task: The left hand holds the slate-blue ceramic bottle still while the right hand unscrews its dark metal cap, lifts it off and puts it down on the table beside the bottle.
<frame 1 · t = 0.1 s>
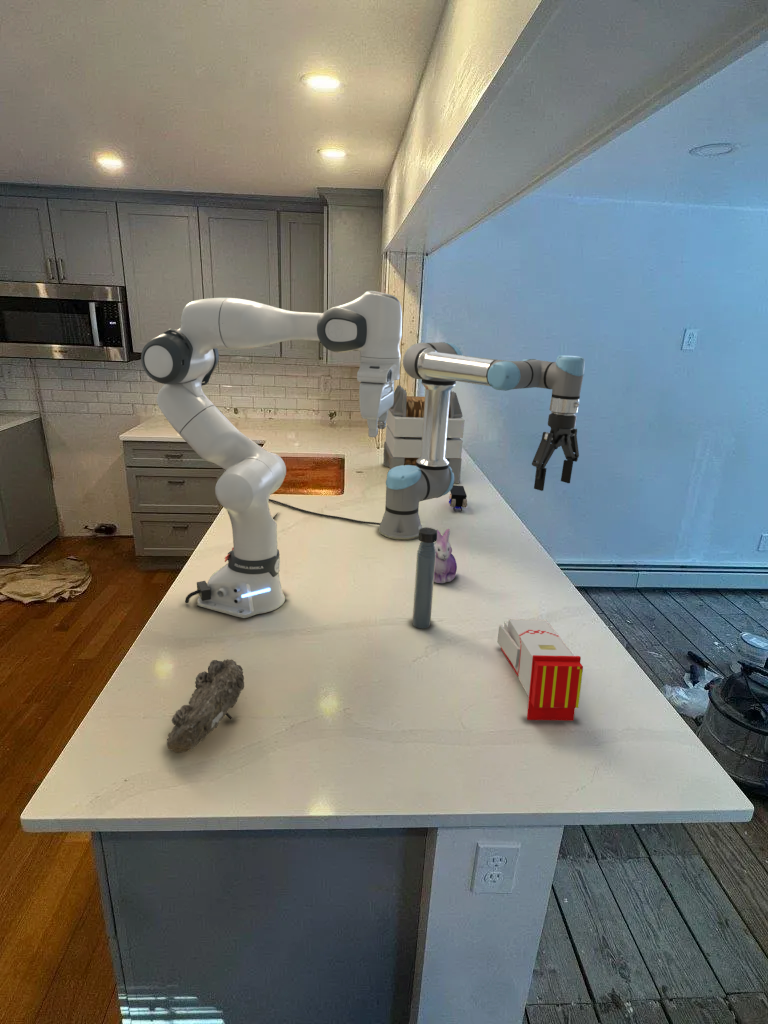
left hand: (377, 432, 129), 48 cm above the counter, tool pointing down, fingers open, 8 cm apart
right hand: (552, 485, 166), 28 cm above the counter, tool pointing down, fingers open, 13 cm apart
figurine character: (456, 507, 229), on the counter
bottle: (421, 623, 143), on the counter
figurine: (442, 577, 169), on the counter
cap: (428, 532, 135), point 25 cm above the counter, screwed on, not yet turned
feather: (276, 516, 211), on the counter
toy: (530, 678, 124), on the counter
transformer: (419, 473, 275), on the counter
fossil: (212, 717, 108), on the counter
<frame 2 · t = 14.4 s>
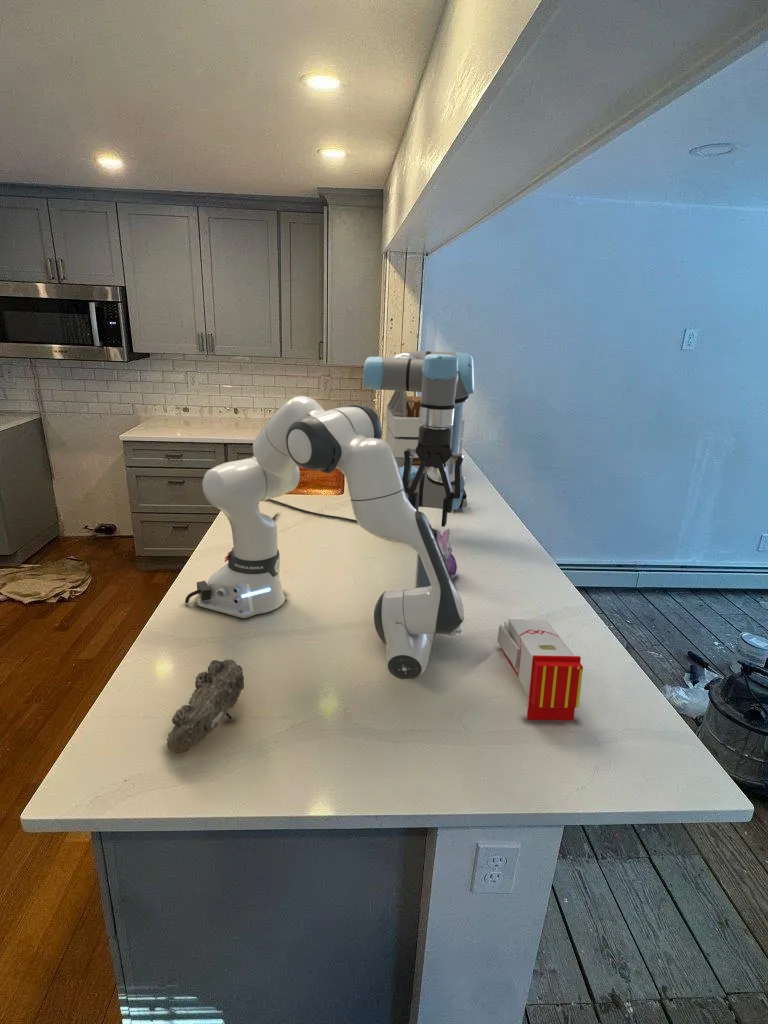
left hand: (423, 600, 142), 6 cm above the counter, tool horizontal, fingers closed on bottle, 4 cm apart
right hand: (428, 522, 134), 27 cm above the counter, tool pointing down, fingers open, 7 cm apart
bottle: (421, 623, 143), on the counter, touching left hand
everything else where it was.
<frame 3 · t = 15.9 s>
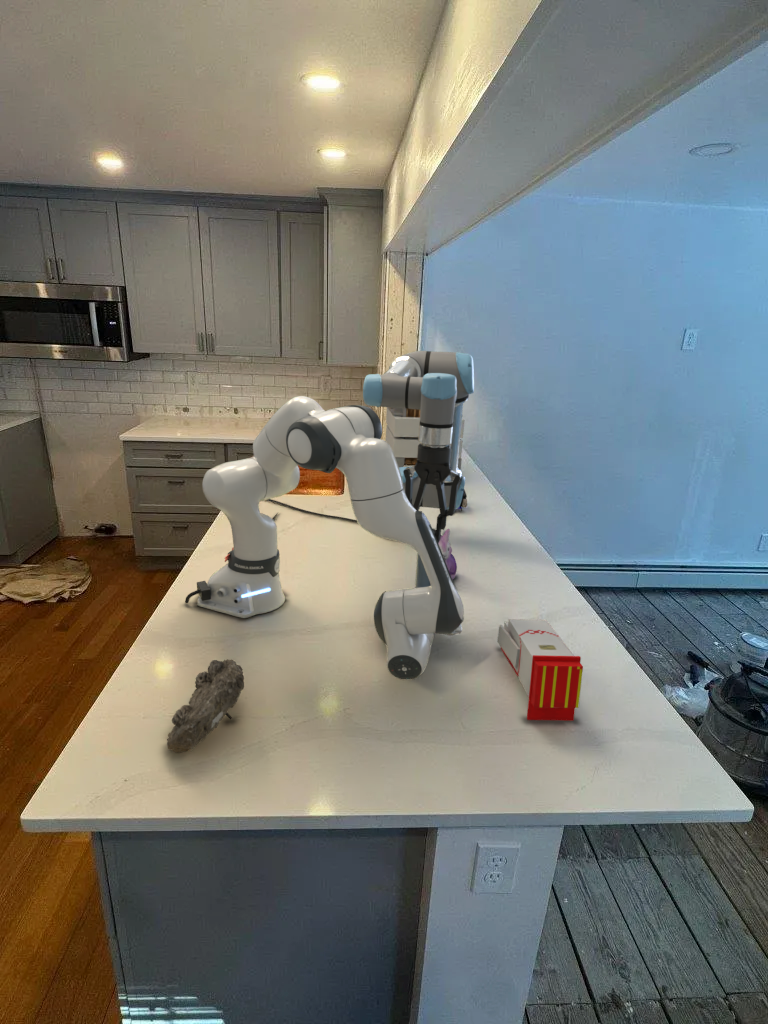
left hand: (423, 600, 142), 6 cm above the counter, tool horizontal, fingers closed on bottle, 4 cm apart
right hand: (427, 539, 136), 23 cm above the counter, tool pointing down, fingers closed on cap, 4 cm apart
bottle: (421, 623, 143), on the counter, touching left hand
cap: (428, 532, 135), point 25 cm above the counter, screwed on, not yet turned, touching right hand
everything else where it was.
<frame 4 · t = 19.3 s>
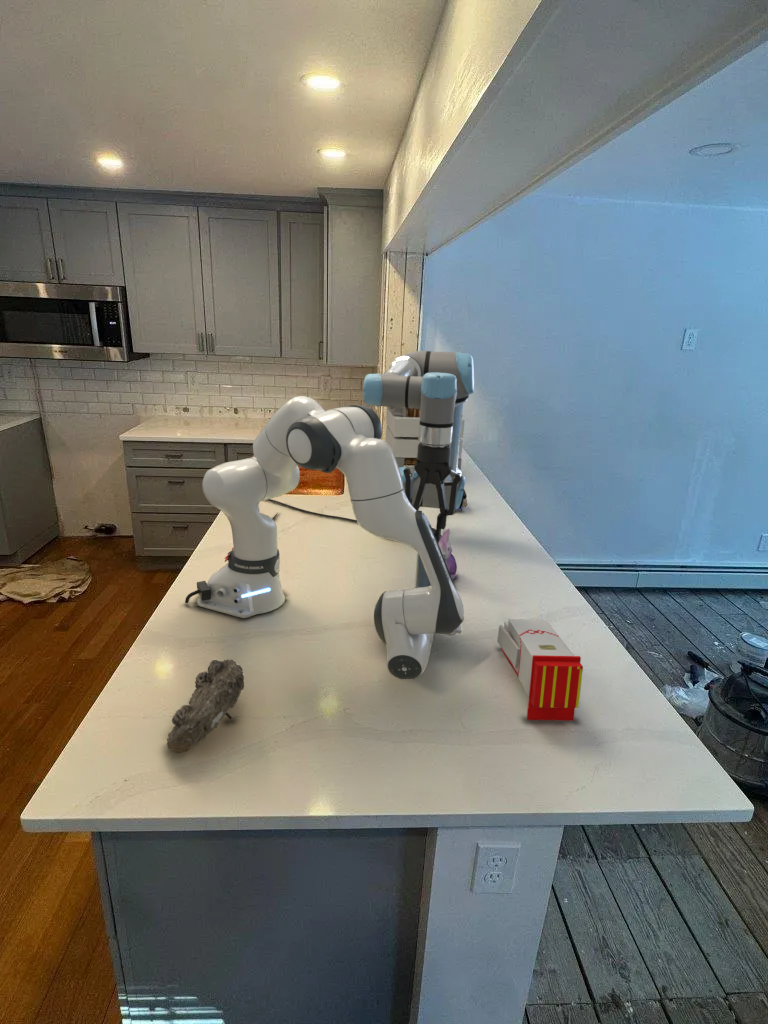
left hand: (423, 600, 142), 6 cm above the counter, tool horizontal, fingers closed on bottle, 4 cm apart
right hand: (427, 539, 136), 23 cm above the counter, tool pointing down, fingers closed on cap, 4 cm apart
bottle: (421, 623, 143), on the counter, touching left hand
cap: (428, 531, 135), point 25 cm above the counter, turned 112° so far, risen 0.1 cm, still on its thread, touching right hand
everything else where it was.
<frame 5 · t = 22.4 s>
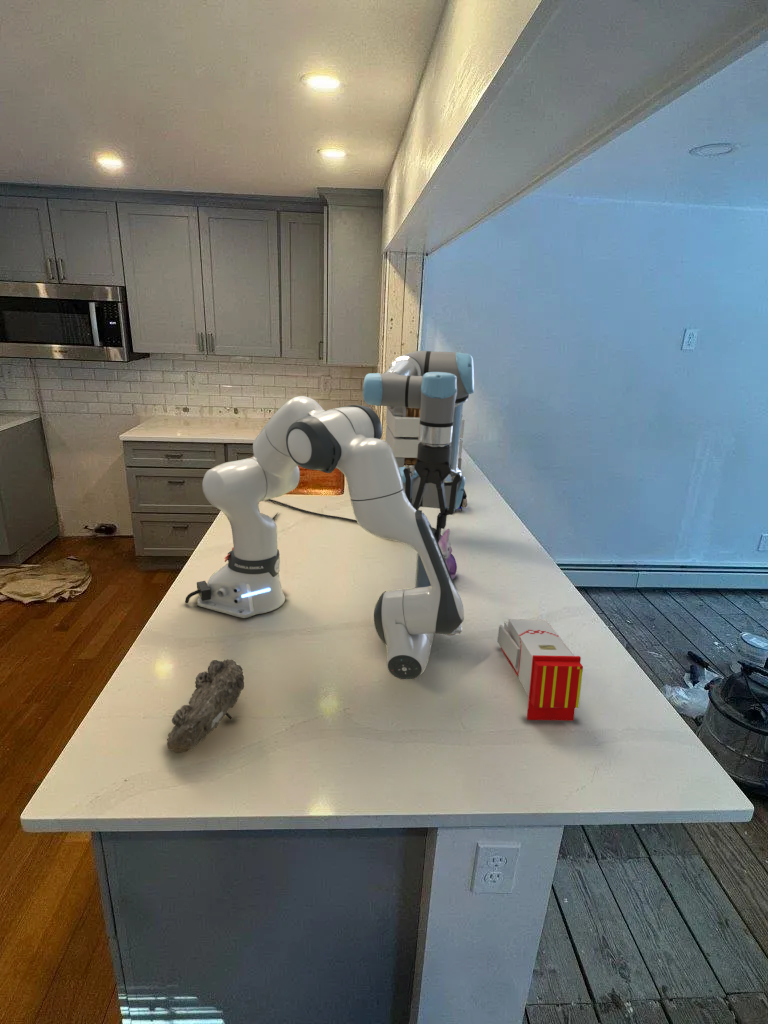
left hand: (423, 600, 142), 6 cm above the counter, tool horizontal, fingers closed on bottle, 4 cm apart
right hand: (427, 538, 136), 23 cm above the counter, tool pointing down, fingers closed on cap, 4 cm apart
bottle: (421, 623, 143), on the counter, touching left hand
cap: (428, 531, 135), point 25 cm above the counter, turned 223° so far, risen 0.2 cm, still on its thread, touching right hand
everything else where it was.
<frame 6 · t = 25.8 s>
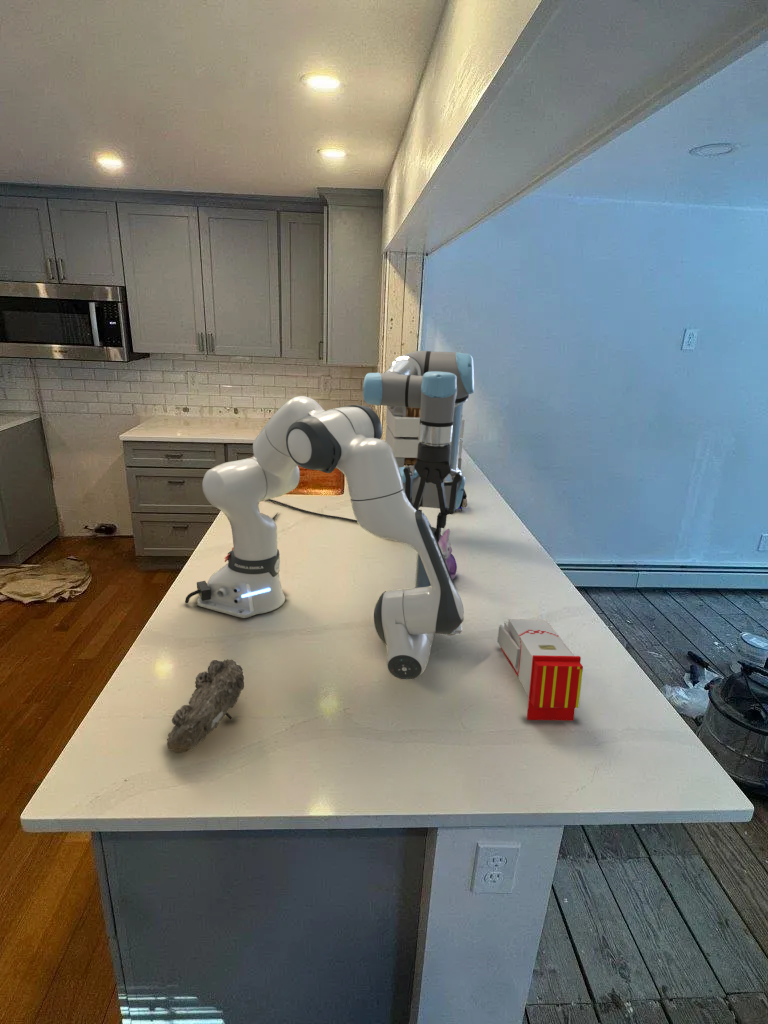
left hand: (423, 600, 142), 6 cm above the counter, tool horizontal, fingers closed on bottle, 4 cm apart
right hand: (427, 538, 136), 23 cm above the counter, tool pointing down, fingers closed on cap, 4 cm apart
bottle: (421, 623, 143), on the counter, touching left hand
cap: (428, 530, 135), point 25 cm above the counter, turned 335° so far, risen 0.3 cm, still on its thread, touching right hand
everything else where it was.
when the right hand's fingers open (1 cm above the counter, at t = 32.9 s): cap drops 1 cm, point 2 cm above the counter.
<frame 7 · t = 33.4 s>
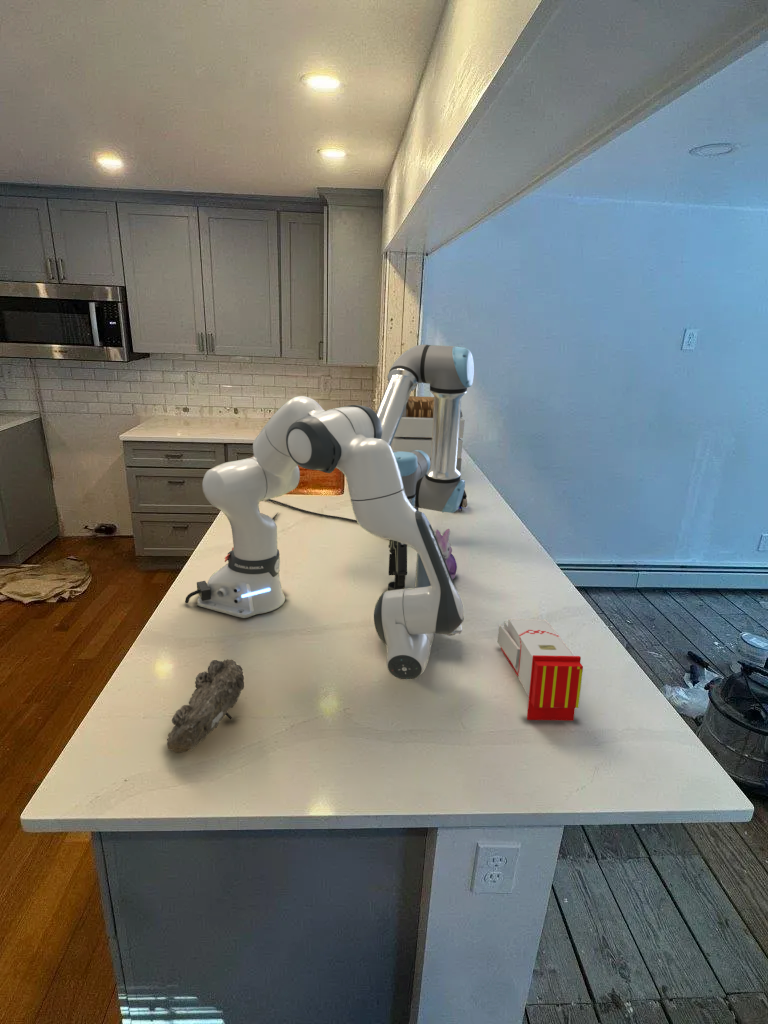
left hand: (423, 600, 142), 6 cm above the counter, tool horizontal, fingers closed on bottle, 4 cm apart
right hand: (396, 584, 158), 2 cm above the counter, tool pointing down, fingers open, 11 cm apart
bottle: (421, 623, 143), on the counter, touching left hand
cap: (395, 585, 158), point 2 cm above the counter, off its thread
everything else where it was.
when the left hand's fingers open (6 cm above the counter, at t = 34.2 s): bottle stays where it is, on the counter.
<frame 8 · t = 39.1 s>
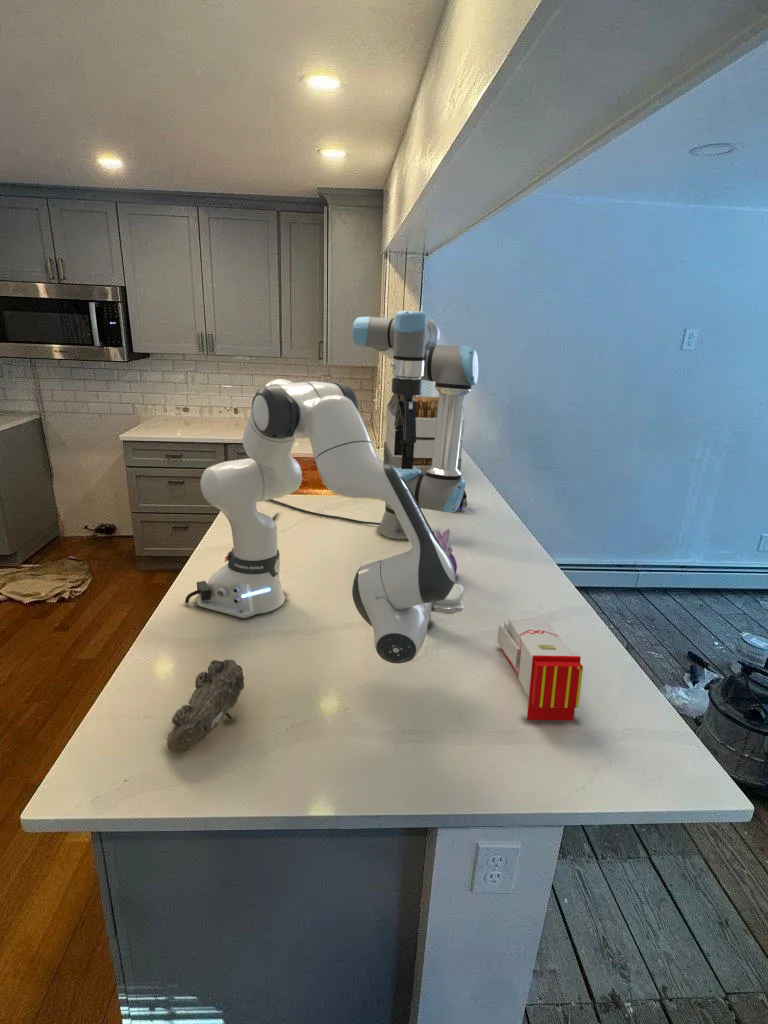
left hand: (419, 576, 125), 19 cm above the counter, tool horizontal, fingers open, 8 cm apart
right hand: (402, 461, 146), 38 cm above the counter, tool pointing down, fingers open, 13 cm apart
bottle: (421, 623, 143), on the counter
everything else where it was.
at the end: cap came off its thread; cap point 1.9 cm above the counter; the left hand is holding nothing; the right hand is holding nothing; bottle tilted 0°; bottle moved 0.0 cm from its start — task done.
